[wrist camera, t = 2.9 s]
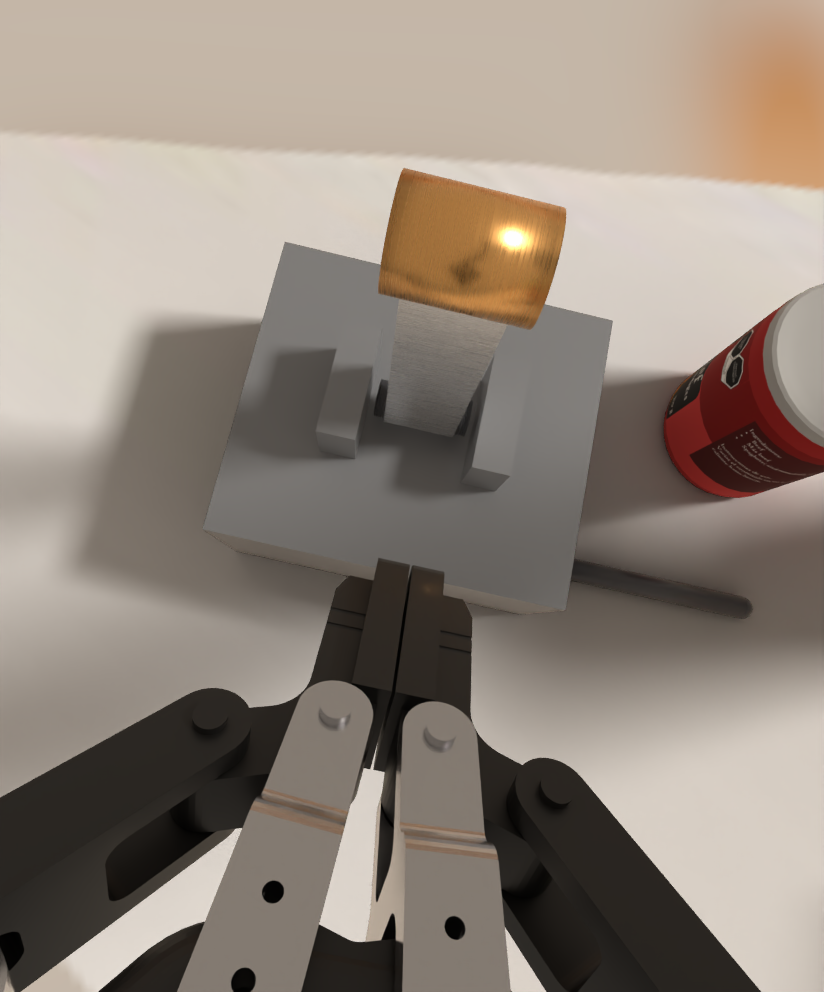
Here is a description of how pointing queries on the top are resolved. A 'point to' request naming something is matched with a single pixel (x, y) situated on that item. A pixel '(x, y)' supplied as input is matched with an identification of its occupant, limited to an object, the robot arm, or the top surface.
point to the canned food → (755, 406)
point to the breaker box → (419, 452)
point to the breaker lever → (458, 291)
